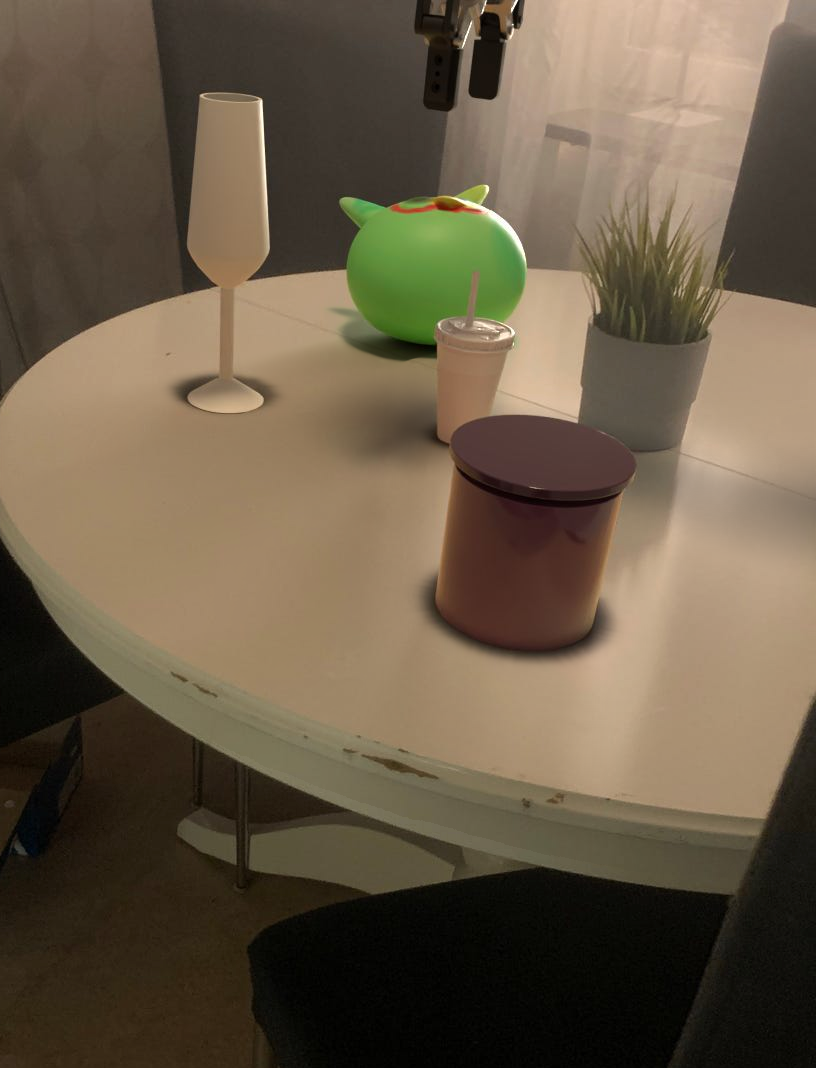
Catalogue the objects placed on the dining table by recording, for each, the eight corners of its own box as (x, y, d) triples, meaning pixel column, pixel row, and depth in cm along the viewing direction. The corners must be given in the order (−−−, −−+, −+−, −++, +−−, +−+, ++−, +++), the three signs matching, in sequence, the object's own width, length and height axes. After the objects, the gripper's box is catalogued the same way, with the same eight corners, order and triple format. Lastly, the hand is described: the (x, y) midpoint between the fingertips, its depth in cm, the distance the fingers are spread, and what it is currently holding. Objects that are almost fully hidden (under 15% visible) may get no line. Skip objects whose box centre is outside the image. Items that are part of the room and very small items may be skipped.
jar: (494, 554, 77) (520, 401, 71) (630, 618, 71) (671, 456, 65) (393, 608, 70) (412, 443, 64) (534, 683, 64) (570, 509, 58)
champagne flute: (240, 380, 102) (247, 90, 89) (278, 406, 97) (291, 104, 84) (173, 391, 98) (171, 91, 85) (209, 418, 94) (212, 105, 81)
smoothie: (441, 421, 97) (462, 257, 89) (509, 440, 94) (537, 272, 87) (407, 445, 92) (427, 273, 84) (478, 465, 90) (505, 290, 82)
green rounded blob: (363, 368, 107) (377, 207, 99) (323, 313, 120) (333, 168, 112) (537, 365, 111) (564, 211, 103) (480, 312, 125) (500, 172, 117)
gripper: (516, -194, 62) (477, 123, 71) (586, -171, 73) (544, 101, 82) (394, -199, 65) (370, 107, 74) (479, -176, 76) (449, 88, 85)
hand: (462, 104), depth 78 cm, fingers open, 8 cm apart
